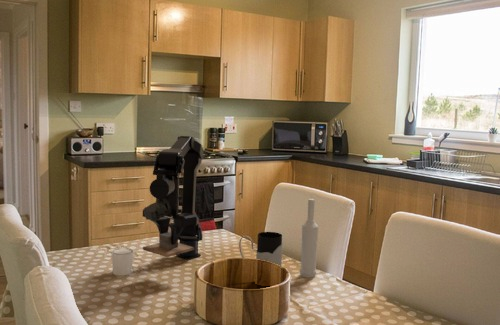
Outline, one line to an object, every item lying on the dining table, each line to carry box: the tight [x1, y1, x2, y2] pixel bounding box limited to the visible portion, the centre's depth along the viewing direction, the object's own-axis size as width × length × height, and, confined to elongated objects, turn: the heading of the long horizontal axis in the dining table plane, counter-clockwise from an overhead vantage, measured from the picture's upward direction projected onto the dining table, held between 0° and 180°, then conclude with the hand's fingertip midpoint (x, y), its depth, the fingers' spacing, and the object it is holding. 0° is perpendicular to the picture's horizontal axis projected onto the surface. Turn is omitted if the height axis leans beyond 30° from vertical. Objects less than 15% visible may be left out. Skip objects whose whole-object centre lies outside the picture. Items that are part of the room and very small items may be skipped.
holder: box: [238, 231, 283, 267], centre depth 160 cm, size 9×14×15 cm, turn 72°
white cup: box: [110, 248, 134, 277], centre depth 164 cm, size 7×7×7 cm
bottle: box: [299, 198, 319, 279], centre depth 166 cm, size 5×5×25 cm
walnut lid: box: [142, 231, 194, 258], centre depth 158 cm, size 11×11×5 cm
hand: (168, 243), depth 158 cm, fingers closed on walnut lid, 4 cm apart
